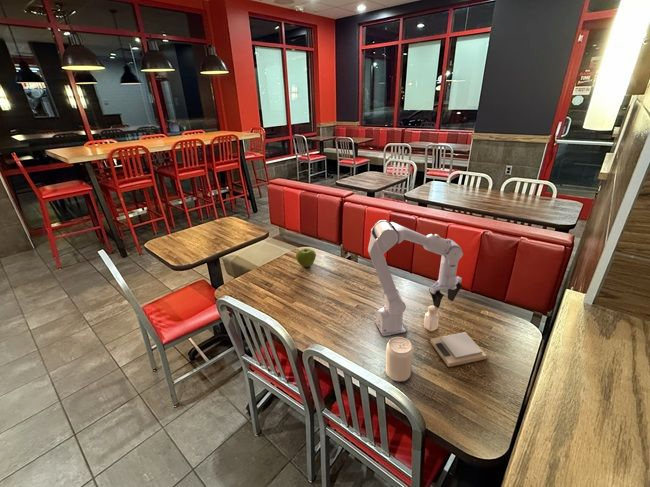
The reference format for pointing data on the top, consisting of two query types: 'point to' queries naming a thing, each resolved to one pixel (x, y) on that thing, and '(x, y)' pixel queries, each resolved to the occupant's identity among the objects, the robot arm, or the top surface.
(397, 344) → the beverage can
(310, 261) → the apple
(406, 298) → the top surface
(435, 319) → the pepper shaker
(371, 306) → the top surface
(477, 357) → the scale
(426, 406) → the top surface
